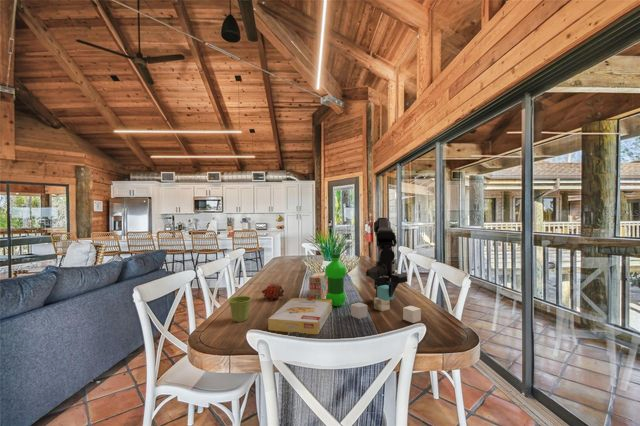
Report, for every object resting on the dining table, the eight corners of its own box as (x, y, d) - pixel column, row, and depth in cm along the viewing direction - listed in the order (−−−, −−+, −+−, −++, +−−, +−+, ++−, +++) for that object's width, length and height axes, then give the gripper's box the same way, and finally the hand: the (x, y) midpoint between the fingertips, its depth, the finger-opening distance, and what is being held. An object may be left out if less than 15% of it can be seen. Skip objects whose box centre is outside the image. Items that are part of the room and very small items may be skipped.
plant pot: (230, 325, 114) (230, 303, 114) (226, 318, 123) (226, 297, 123) (253, 321, 118) (253, 300, 119) (248, 314, 127) (248, 294, 127)
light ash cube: (374, 308, 134) (374, 298, 134) (381, 306, 137) (381, 296, 137) (381, 311, 130) (381, 300, 130) (389, 309, 132) (389, 298, 132)
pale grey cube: (351, 315, 125) (351, 304, 125) (359, 313, 127) (359, 302, 127) (358, 319, 120) (358, 307, 120) (367, 316, 123) (367, 305, 123)
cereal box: (332, 298, 132) (318, 320, 105) (332, 310, 132) (318, 335, 105) (290, 296, 137) (267, 317, 109) (291, 308, 137) (267, 332, 109)
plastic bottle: (331, 300, 146) (331, 252, 146) (350, 303, 141) (349, 253, 141) (321, 306, 138) (321, 254, 138) (340, 309, 132) (340, 255, 132)
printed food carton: (321, 289, 168) (321, 269, 168) (331, 290, 166) (331, 269, 166) (309, 300, 147) (309, 276, 147) (320, 301, 146) (320, 277, 146)
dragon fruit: (285, 302, 148) (263, 305, 150) (286, 289, 155) (265, 292, 156) (281, 292, 144) (258, 295, 145) (282, 279, 151) (260, 282, 152)
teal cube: (377, 298, 122) (377, 286, 122) (385, 296, 125) (385, 284, 125) (386, 301, 118) (386, 289, 118) (394, 299, 121) (394, 287, 121)
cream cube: (403, 319, 120) (403, 307, 120) (410, 317, 123) (410, 305, 123) (413, 323, 116) (413, 311, 116) (420, 320, 118) (420, 308, 118)
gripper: (356, 258, 125) (357, 293, 125) (389, 264, 110) (389, 304, 109) (374, 255, 131) (375, 289, 131) (408, 261, 116) (408, 299, 116)
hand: (385, 295), depth 122 cm, fingers closed on teal cube, 5 cm apart
